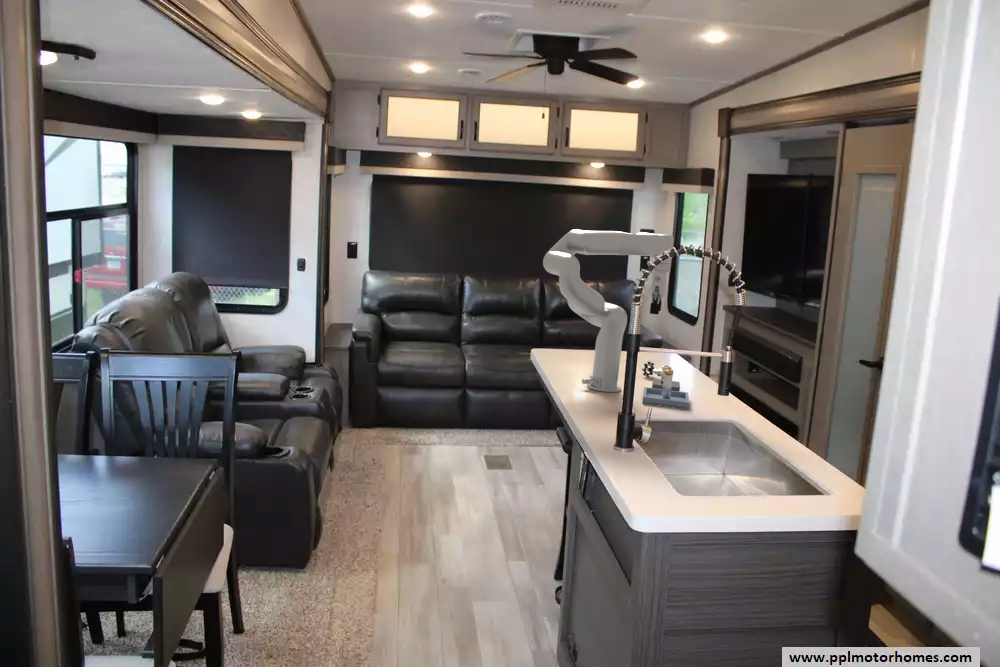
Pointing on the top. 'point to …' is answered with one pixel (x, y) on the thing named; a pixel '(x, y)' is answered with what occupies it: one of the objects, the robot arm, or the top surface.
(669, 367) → the valve
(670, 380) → the lock pin
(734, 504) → the top surface
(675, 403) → the parts tray
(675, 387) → the block
